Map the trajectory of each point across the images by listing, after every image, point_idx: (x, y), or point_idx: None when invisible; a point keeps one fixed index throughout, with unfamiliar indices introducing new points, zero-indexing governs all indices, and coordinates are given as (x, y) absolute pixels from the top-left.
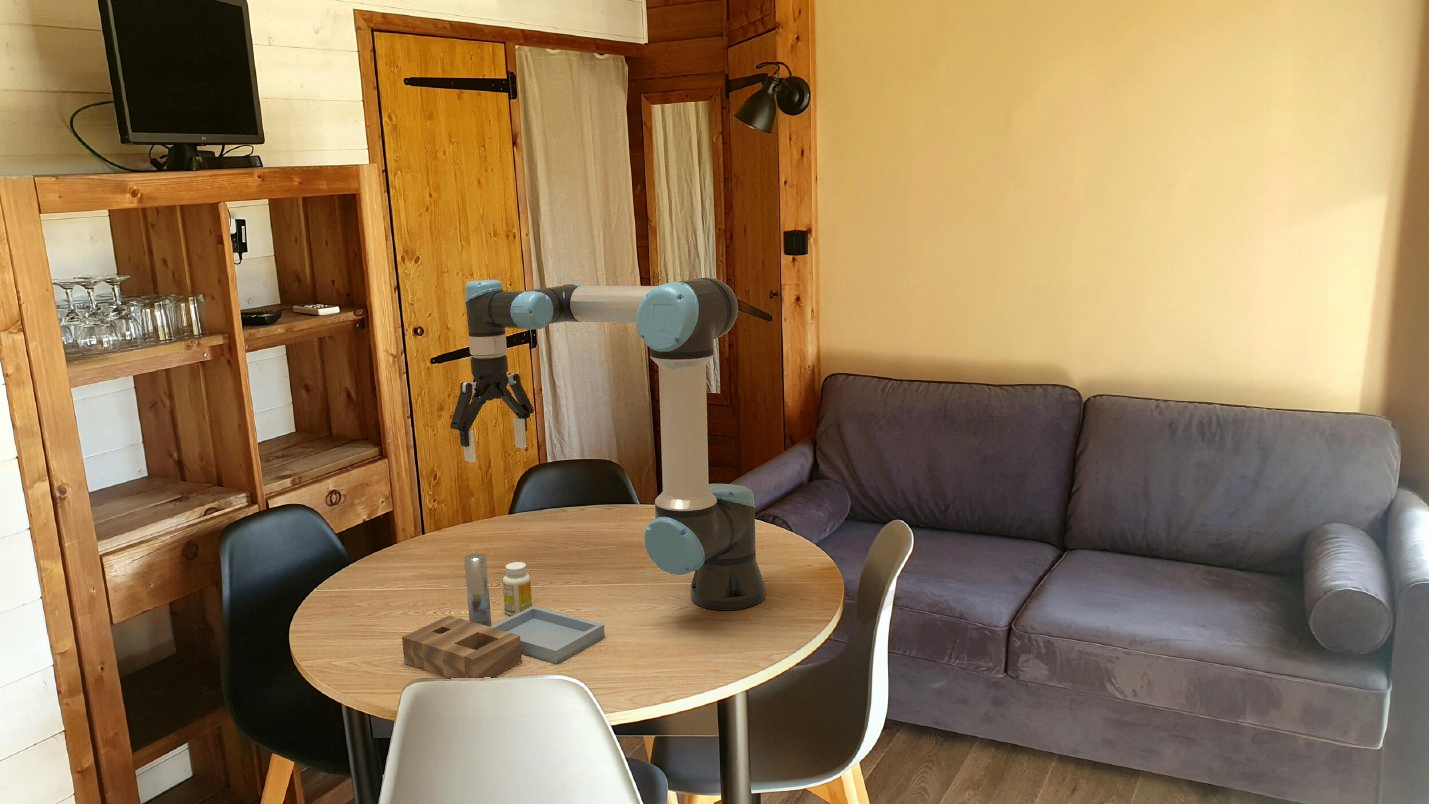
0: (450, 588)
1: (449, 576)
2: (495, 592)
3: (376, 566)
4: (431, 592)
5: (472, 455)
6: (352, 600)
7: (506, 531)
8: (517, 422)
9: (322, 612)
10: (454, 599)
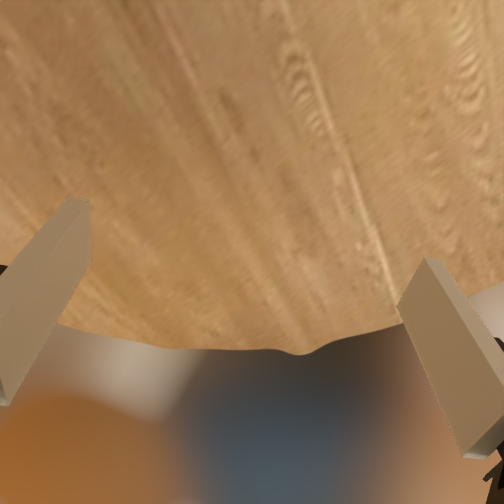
0: (347, 157)
1: (294, 201)
2: (340, 49)
3: (298, 325)
4: (376, 176)
5: (453, 283)
6: None
7: None
8: (16, 350)
9: (492, 269)
10: (399, 108)
